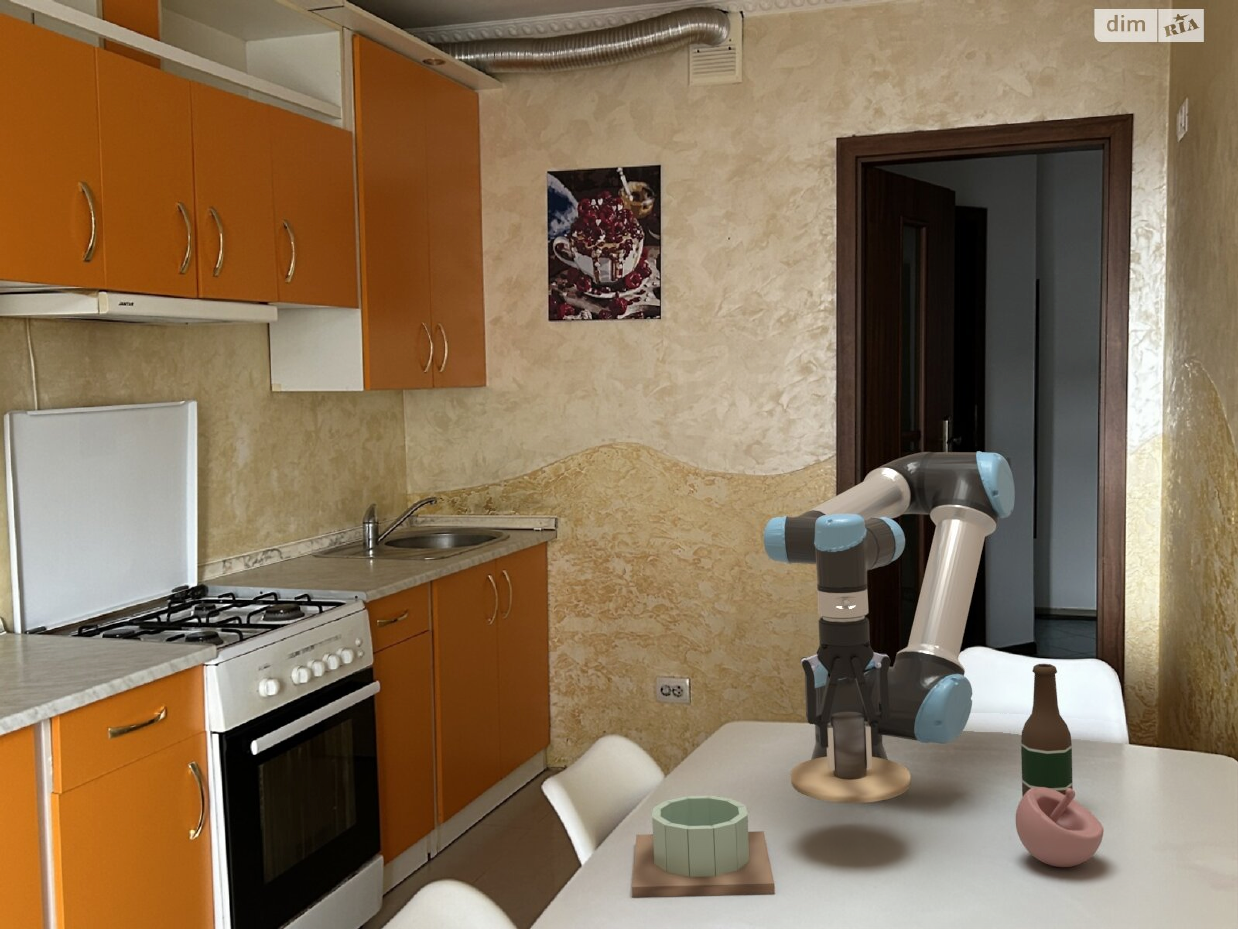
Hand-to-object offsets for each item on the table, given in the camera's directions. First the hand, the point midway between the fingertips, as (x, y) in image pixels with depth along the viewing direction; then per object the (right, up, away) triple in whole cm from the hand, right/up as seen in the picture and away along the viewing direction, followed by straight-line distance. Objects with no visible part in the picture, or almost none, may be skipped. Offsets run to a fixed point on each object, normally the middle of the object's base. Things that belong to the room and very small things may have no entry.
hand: (849, 766), depth 184 cm
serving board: (-23, -14, -4) cm, 27 cm away
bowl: (-23, -12, -5) cm, 27 cm away
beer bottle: (+35, -11, +13) cm, 39 cm away
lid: (0, -2, 0) cm, 2 cm away
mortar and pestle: (+29, -12, -9) cm, 33 cm away
